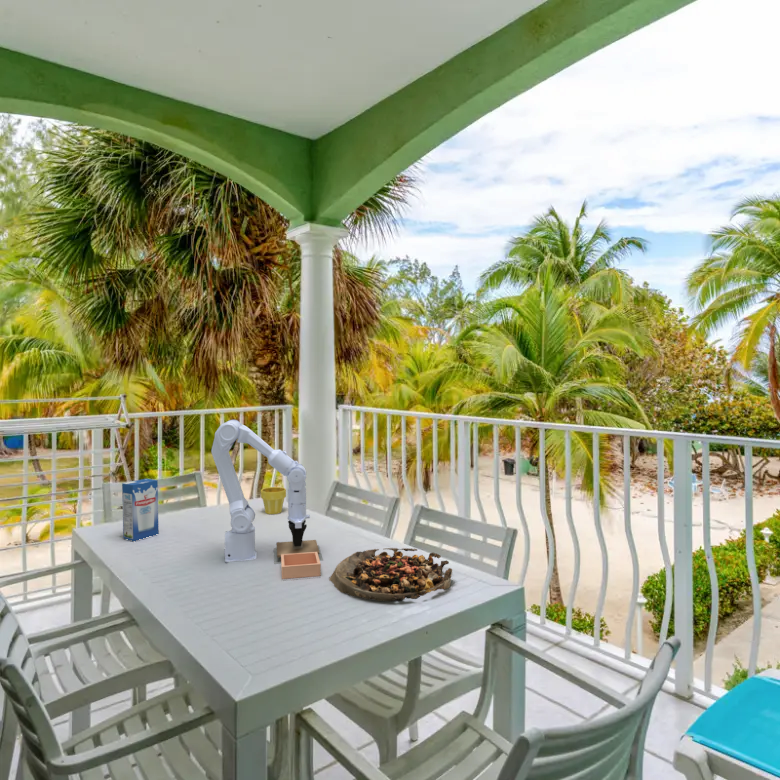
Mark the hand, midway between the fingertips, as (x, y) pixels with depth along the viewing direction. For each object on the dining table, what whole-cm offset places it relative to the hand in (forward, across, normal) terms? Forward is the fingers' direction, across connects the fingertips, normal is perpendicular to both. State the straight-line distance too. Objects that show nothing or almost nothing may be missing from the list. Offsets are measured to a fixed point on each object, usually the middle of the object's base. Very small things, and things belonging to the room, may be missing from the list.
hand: (297, 544), depth 179 cm
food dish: (+4, -26, -25) cm, 36 cm away
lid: (+2, 0, 0) cm, 2 cm away
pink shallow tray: (+4, -15, 0) cm, 15 cm away
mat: (+4, 0, 0) cm, 4 cm away
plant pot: (+4, +57, +7) cm, 58 cm away
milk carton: (+4, +33, +54) cm, 63 cm away
